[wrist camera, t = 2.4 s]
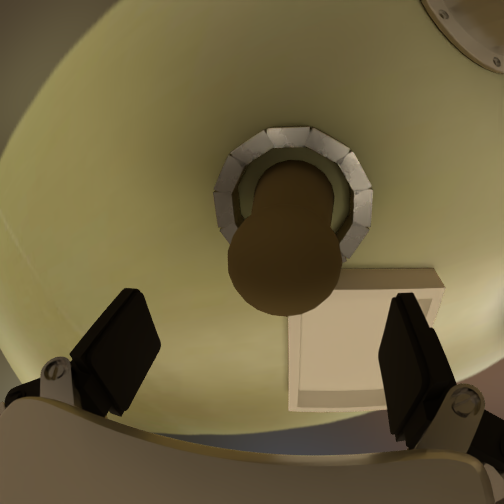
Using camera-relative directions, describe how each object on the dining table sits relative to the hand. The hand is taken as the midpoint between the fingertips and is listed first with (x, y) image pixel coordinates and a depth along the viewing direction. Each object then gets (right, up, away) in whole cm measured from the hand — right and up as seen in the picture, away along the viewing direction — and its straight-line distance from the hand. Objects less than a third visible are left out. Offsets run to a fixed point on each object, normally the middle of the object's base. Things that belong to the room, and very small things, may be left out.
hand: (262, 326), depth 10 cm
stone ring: (+3, +7, +11) cm, 13 cm away
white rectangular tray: (+10, -7, +17) cm, 21 cm away
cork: (+3, +7, +11) cm, 13 cm away
